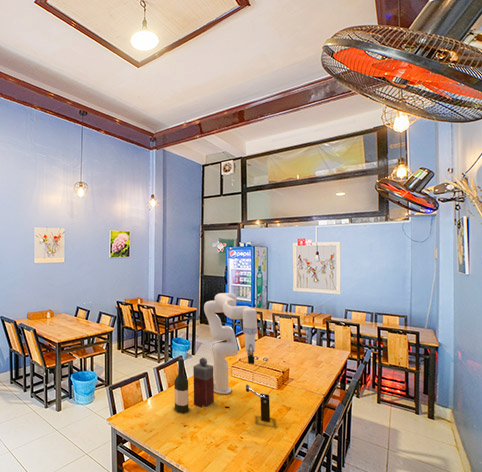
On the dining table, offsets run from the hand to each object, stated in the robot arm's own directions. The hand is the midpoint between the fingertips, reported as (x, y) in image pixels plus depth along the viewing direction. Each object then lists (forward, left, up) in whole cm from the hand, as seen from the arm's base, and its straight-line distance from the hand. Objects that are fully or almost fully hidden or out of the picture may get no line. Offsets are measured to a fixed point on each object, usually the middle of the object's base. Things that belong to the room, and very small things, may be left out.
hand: (250, 360), depth 178 cm
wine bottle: (-39, -5, -32) cm, 51 cm away
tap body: (+7, -2, -32) cm, 32 cm away
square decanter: (-27, +7, -32) cm, 42 cm away
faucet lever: (+2, -2, -18) cm, 19 cm away
